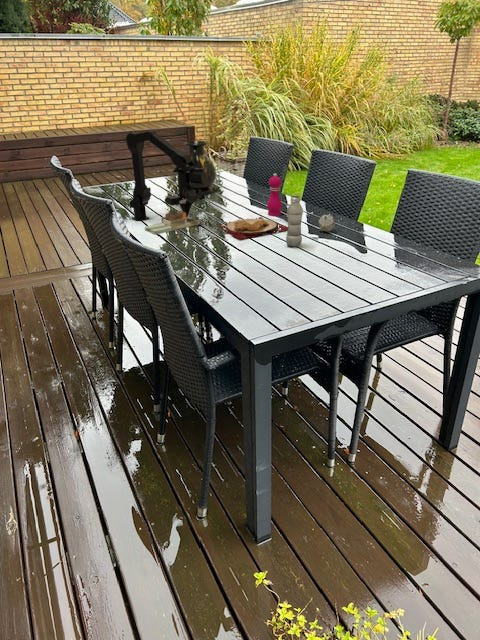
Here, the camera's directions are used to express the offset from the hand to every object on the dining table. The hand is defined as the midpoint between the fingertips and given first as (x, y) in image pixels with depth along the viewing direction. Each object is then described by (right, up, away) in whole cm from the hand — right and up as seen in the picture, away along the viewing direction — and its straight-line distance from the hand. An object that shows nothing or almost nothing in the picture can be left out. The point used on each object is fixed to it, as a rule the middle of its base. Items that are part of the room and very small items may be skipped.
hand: (186, 216), depth 227 cm
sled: (-5, -3, -3) cm, 7 cm away
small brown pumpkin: (+63, -10, -12) cm, 65 cm away
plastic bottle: (+47, -18, -28) cm, 58 cm away
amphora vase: (+1, +26, +58) cm, 64 cm away
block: (-6, -3, -4) cm, 8 cm away
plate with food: (+30, -8, -6) cm, 31 cm away
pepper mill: (+42, +4, +14) cm, 45 cm away
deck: (-6, -5, -3) cm, 9 cm away
